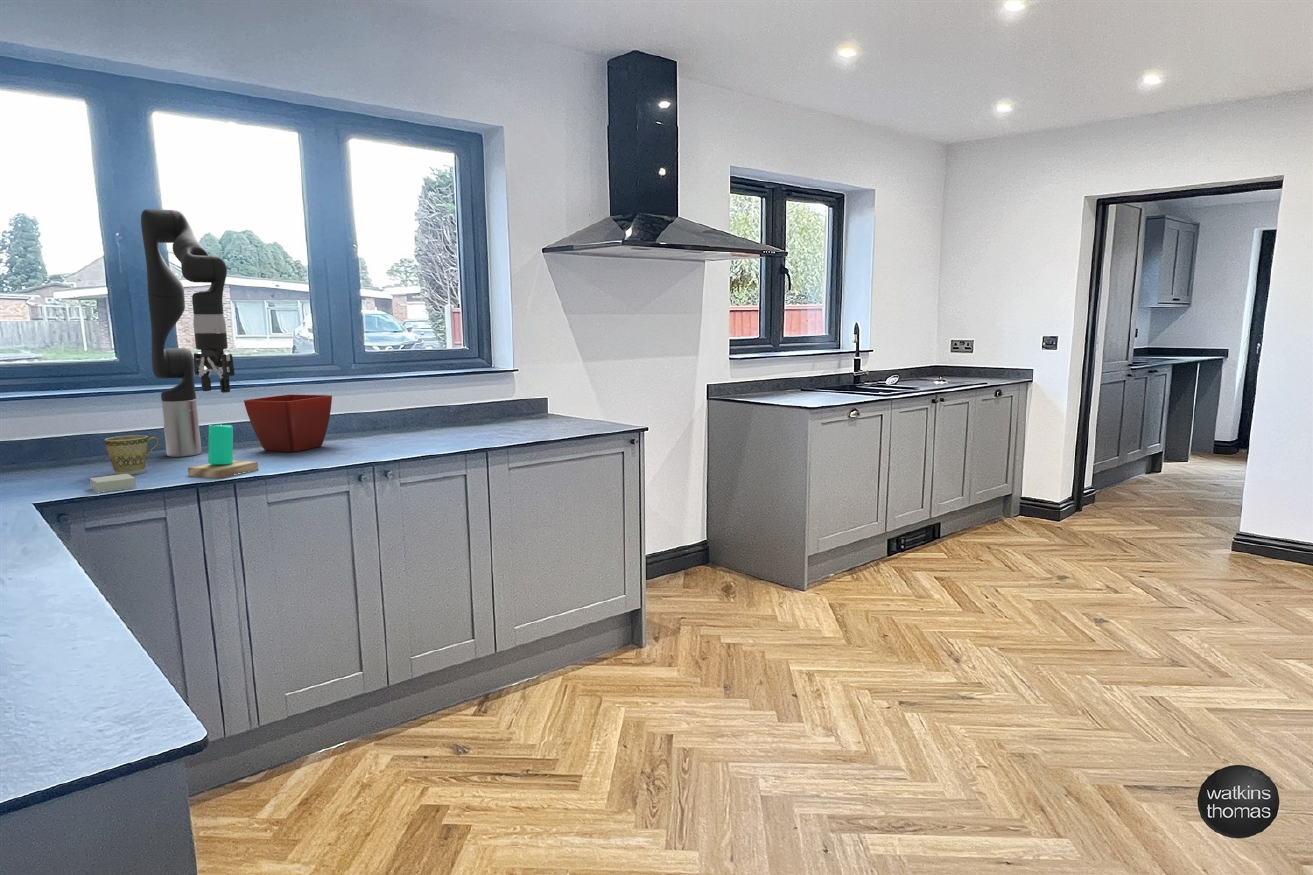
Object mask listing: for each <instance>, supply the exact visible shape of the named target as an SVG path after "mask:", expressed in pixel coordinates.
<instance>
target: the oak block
mask: <svg viewBox="0 0 1313 875" xmlns="http://www.w3.org/2000/svg"><path fill="white" fill-rule="evenodd" d="M248 471H252V472H256V471H259V464H258V461H249V460H235V459H234V460H233V463H232V464H208V462H207V463H204V464H198V465H194V466H188V467H187V472H188V473H187V474H188V477H198V476H199V477H201V478H210V477H219V478H218V479H223V478H222V477H226V476H230V477H232V476H231V475H234V474H238V473H243V472H248ZM248 473H249V472H248ZM243 474H244V473H243ZM226 478H227V477H226Z"/></svg>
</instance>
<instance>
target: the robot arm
mask: <svg viewBox="0 0 1313 875" xmlns="http://www.w3.org/2000/svg"><path fill="white" fill-rule="evenodd" d="M140 227H141V235H142V241H143V248H144V254H145V256H144V257H145V262H146V264H145V265H146V275H147V276H146V278H147V301H148V310H149V318H150V319H149V320H150V328H151V329H150V331H151V366H152V368H151V369H152V372H153V375H154V377H156V378H157V379H161V380H164V379H165V380H166V379H181V381H180V382H179V383H177V385H175V386H174V387H171V388H167V389H166V390H162V392H161V393H160V398H161V406H162V415H163V416H162V418H163V423H164V424H163V432H164V441H165V450H166V455H167V457H172V458H173V457H176V458H177V457H188V456H195V455H201V454H202V453H201V452H202V444H201V443H202V441H201V434H200V432H201V431H200V426H199V425H200V423H199V413H198V405H197V396H196V385H195V375H196V376H198V378H200V382H201V383H200V384H201V391H202V392H210V391H212V382H211V381H212V380H211V373H212V372H213V371H214V372H215V373H216V374H217V376H218V377H219V386H220V392H221V393H222V394H223V393H224V394H226V393H230V392H231V385H230V379H231V377H234V376H235V375H236V374H235V368H234V367H235V366H234V360H233V359H234V358H233V354H232V353H225V352H224V350H226V349H228V346H229V345H228V336H227V334H228V333H227V324H226V321H225V316H224V315H225V314H224V305H223V304H224V303H223V297H224V296H223V295H224V288H225V283H226V280H227V274H228V267H227V264H226V261H225V260H224V259H223V258H222V257H220V256H218V255H217V256H216V255H209V253H208V251H207V250H206V249H205V248H204V247H203V246H202V244H201V243H200V242H199V241H198V240H197V238H196V235H195V233H194V232H193V228H192V226H191V225H190V222H189V221H188V219H187V217H186V215H184V213H182V212H181V211H178V210H175V209H160V208H159V209H157V208H156V209H155V208H147V209H143V211H142V212H141V214H140ZM159 243H161V244H163V243H164V244H172V253H173V255H174V256H175V258H176V259H177V260H178V261H179V263H180V264H181V274H182V276H183V278H184V279H185V280H187V281H188V282H191V283H202V284H203V283H207V284H208V283H210V284H211V285H210V287H209V288H208V289H207V290H204V291H197V292H194V293H193V294H192V296H191V302H192V303H191V304H192V312H193V331H194V332H193V333H194V342H195V349H196V350H199V351H200V352H194V353H192V351H191V349H189V348H186V347H175V348H174V347H173V348H172V347H170V348H165V346H166V343H167V342H166V341H167V339H168V337H169V334H170V333H171V331H172V329H173V328H174V327H175V325H176V324H177V323H178V322H179V320H180V319H181V317H182V315H183V313H184V311H185V309H186V300H185V299H186V298H185V288H184V285H183V283H182V282H181V280H180V279H179V278H178V276H177V275H176V274H175V272H174V271H173V270H172V269H171V268H170V267H169V265H168V264H167V263H166V260H165V259H164V257H163V256H162V254H161V251H160V248H159Z"/></svg>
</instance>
